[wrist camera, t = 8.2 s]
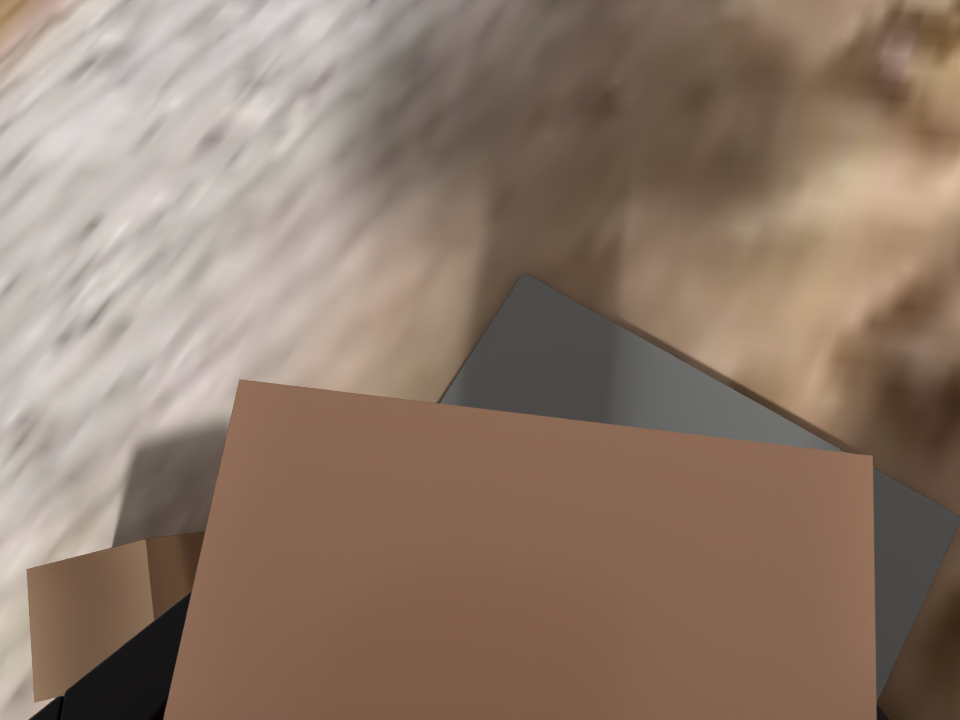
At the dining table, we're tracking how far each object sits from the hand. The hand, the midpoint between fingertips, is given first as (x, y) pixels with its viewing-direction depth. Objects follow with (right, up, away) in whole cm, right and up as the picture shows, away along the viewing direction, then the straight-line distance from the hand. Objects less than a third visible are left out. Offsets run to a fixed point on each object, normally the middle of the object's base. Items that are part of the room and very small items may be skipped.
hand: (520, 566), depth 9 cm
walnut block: (-13, -6, +14) cm, 19 cm away
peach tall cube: (0, -3, +6) cm, 7 cm away
